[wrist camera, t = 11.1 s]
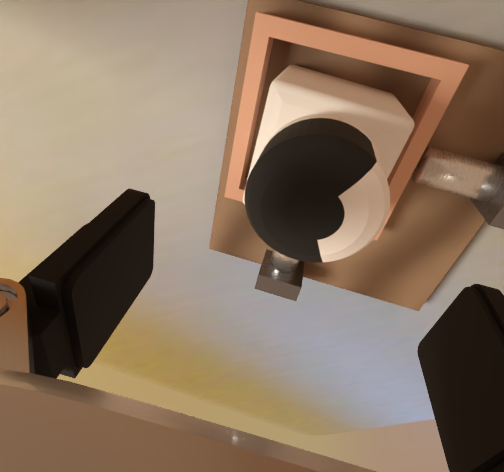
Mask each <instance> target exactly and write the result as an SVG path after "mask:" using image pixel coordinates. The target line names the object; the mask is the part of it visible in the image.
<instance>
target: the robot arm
mask: <svg viewBox="0 0 504 472" xmlns="http://www.w3.org/2000/svg"><path fill="white" fill-rule="evenodd" d="M154 219H155V202H154V200H151V199H150V196H149V194H148V193H144V192H140V191H137V190H133V189H128V190H126V191H125V192H124V193H123V194H121V195H120V196H119V197H118V198H117V199H116V200H115V201H113V202H112V203H111V204H110V205H109V206H108V207H107V208H105V209H104V210H103V211H102V212H101V213H100V214H99V215H98V216H96V217H95V218H94V219H93V220H92V221H91V222H90V223H88V224H86V225H84V226H83V227H82V228H81V229H79V230H78V231H77V232H76V233H75V234H74V235H73V236H71V237H70V238H69V239H68V240H67V241H66V242H65V243H63V244H62V245H61V246H60V247H59V248H58V249H56V250H55V251H54V252H53V253H52V254H51V255H50V256H48V257H47V258H46V259H45V260H44V261H43V262H41V263H40V264H39V265H38V266H37V267H36V268H35V269H33V270H32V271H31V272H30V273H29V274H28V275H27V276H25V277H24V278H23V279H22V280H21V281H20V282H16V281H13V280H10V279H4V278H0V472H376V471H373V470H369V469H366V468H363V467H359V466H356V465H352V464H349V463H346V462H343V461H339V460H336V459H333V458H329V457H326V456H323V455H319V454H316V453H312V452H309V451H306V450H303V449H299V448H296V447H292V446H289V445H286V444H283V443H279V442H276V441H273V440H269V439H266V438H262V437H259V436H256V435H253V434H249V433H246V432H242V431H239V430H236V429H232V428H229V427H226V426H222V425H219V424H216V423H212V422H209V421H205V420H202V419H198V418H195V417H192V416H188V415H185V414H182V413H178V412H175V411H171V410H168V409H164V408H161V407H158V406H154V405H151V404H148V403H144V402H141V401H137V400H134V399H130V398H126V397H123V396H119V395H116V394H112V393H108V392H105V391H101V390H97V389H94V388H90V387H87V386H83V385H79V384H76V383H72V382H68V381H63V380H59V379H56V378H57V377H58V376H59V374H62V375H65V376H69V377H72V378H76V376H77V375H78V373H79V372H80V370H81V369H82V367H84V368H88V367H89V366H90V365H91V364H92V363H93V361H94V360H95V358H96V357H97V355H98V354H99V352H100V351H101V349H102V348H103V346H104V345H105V343H106V342H107V340H108V339H109V337H110V336H111V334H112V333H113V331H114V330H115V329H116V327H117V326H118V324H119V323H120V321H121V320H122V318H123V317H124V315H125V314H126V312H127V311H128V309H129V308H130V306H131V305H132V303H133V302H134V300H135V299H136V297H137V296H138V294H139V293H140V291H141V290H142V288H143V287H144V285H145V284H146V282H147V281H148V279H149V278H150V276H151V274H152V270H153V254H154ZM418 357H419V360H420V364H421V368H422V372H423V375H424V379H425V383H426V386H427V390H428V394H429V398H430V401H431V405H432V409H433V412H434V416H435V420H436V423H437V427H438V431H439V435H440V438H441V442H442V446H443V449H444V453H445V457H446V461H447V464H448V468H449V471H450V472H504V295H503V294H502V293H501V291H500V290H498V289H495V288H491V287H487V286H484V285H480V284H474V285H472V286H471V287H466V288H464V289H463V290H462V291H461V293H460V294H459V295H458V296H457V297H456V299H455V300H454V301H453V302H452V304H451V305H450V306H449V307H448V309H447V310H446V311H445V312H444V314H443V315H442V316H441V317H440V318H439V320H438V321H437V322H436V323H435V325H434V326H433V327H432V328H431V330H430V331H429V332H428V333H427V334H426V336H425V337H424V338H423V339H422V341H421V342H420V344H419V346H418Z"/></svg>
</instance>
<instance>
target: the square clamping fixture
mask: <svg viewBox="0 0 504 472" xmlns="http://www.w3.org/2000/svg"><path fill="white" fill-rule="evenodd" d="M289 65H297V66H300V67H304V68H307V69H310V70H314V71H317V72H321V73H324V74H327V75H331V76H334V77H338V78H341V79H345V80H348V81H351V82H355V83H358V84H362V85H365V86H368V87H372V88H375V89H379V90H382V91H386V92H389V93H392V94H393V95H394V96H395V97H396V98H397V100H398V101H399V102H400V104H401V105H402V106H403V107H404V109H405V110H406V111H407V113H408V114H409V115H410V117H411V118H412V119H413V121H414V123H415V124H414V128H413V130H412V132H411V134H410V136H409V138H408V140H407V142H406V144H405V146H404V148H403V150H402V152H401V154H400V155H399V157H398V159H397V161H396V163H395V165H394V167H393V169H392V171H391V173H390V175H389V177H388V179H387V181H388V185H389V190H390V208H389V212H388V216H387V219H386V221H385V223H384V226H383V227H382V229H381V230H380V232H379V234H378V235H377V236H376V237H375V238H374V240H373V241H371V242H370V243H369V244H368V245H367V246H366V247H364V248H363V249H362V250H360V251H359V252H357V253H355V254H353V255H351V256H349V257H346V258H343V259H340V260H336V261H331V262H321V263H313V262H304V261H299V260H295V259H292V258H289V257H287V256H284V255H282V254H280V253H278V252H277V251H275V250H273V249H272V248H271V247H269V246H268V245H267V244H266V243H265V242H264V241H263V240H262V239H261V238H260V237H259V236H258V235H257V233H256V232H255V231H254V229H253V227H252V226H251V224H250V221H249V219H248V216H247V213H246V209H245V205H244V203H243V195H244V191H245V187H246V182H247V178H248V174H249V170H250V166H251V162H252V158H253V154H254V150H255V145H256V141H257V137H258V133H259V129H260V125H261V121H262V117H263V113H264V108H265V104H266V100H267V96H268V92H269V88H270V85H271V83H272V81H273V80H274V79H275V78H276V77H277V76H279V75H280V74H281V73H282V72H283V71H284V70H285V69H286V68H287V67H288V66H289ZM485 220H486V222H487V223H488V224H489V225H491V226H494V227H498V228H501V229H504V51H503V50H498V49H494V48H490V47H486V46H482V45H478V44H474V43H470V42H466V41H462V40H458V39H453V38H449V37H445V36H441V35H437V34H433V33H429V32H425V31H421V30H417V29H412V28H408V27H404V26H400V25H396V24H392V23H388V22H384V21H380V20H376V19H372V18H367V17H363V16H359V15H355V14H351V13H347V12H343V11H339V10H335V9H331V8H326V7H322V6H318V5H314V4H310V3H306V2H302V1H298V0H248V4H247V10H246V17H245V23H244V30H243V36H242V42H241V49H240V55H239V62H238V68H237V74H236V81H235V87H234V93H233V100H232V106H231V113H230V119H229V125H228V132H227V138H226V144H225V151H224V157H223V164H222V170H221V176H220V183H219V189H218V195H217V202H216V208H215V215H214V221H213V227H212V234H211V240H210V247H209V249H212V250H216V251H219V252H222V253H226V254H229V255H232V256H236V257H239V258H242V259H246V260H249V261H252V262H256V263H259V264H262V265H261V268H260V272H259V275H258V278H257V282H256V285H255V289H258V290H261V291H264V292H268V293H271V294H274V295H277V296H281V297H284V298H287V299H291V300H294V301H296V300H297V297H298V295H299V292H300V290H301V286H302V279H303V277H306V278H309V279H313V280H316V281H319V282H323V283H326V284H330V285H333V286H336V287H340V288H343V289H346V290H350V291H353V292H356V293H360V294H363V295H366V296H370V297H373V298H377V299H380V300H383V301H387V302H390V303H393V304H397V305H400V306H403V307H407V308H410V309H413V310H417V311H419V310H420V309H421V307H422V306H423V304H424V303H425V302H426V300H427V299H428V298H429V296H430V295H431V294H432V292H433V291H434V289H435V288H436V287H437V285H438V284H439V283H440V281H441V280H442V278H443V277H444V276H445V274H446V273H447V272H448V270H449V269H450V268H451V266H452V265H453V263H454V262H455V261H456V259H457V258H458V257H459V255H460V254H461V253H462V251H463V250H464V248H465V247H466V246H467V244H468V243H469V242H470V240H471V239H472V238H473V236H474V235H475V233H476V232H477V231H478V229H479V228H480V227H481V225H482V224H483V222H484V221H485Z"/></svg>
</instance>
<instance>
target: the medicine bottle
mask: <svg viewBox="0 0 504 472" xmlns="http://www.w3.org/2000/svg"><path fill="white" fill-rule="evenodd" d="M414 124H415V123H414V121H413V119H412V118H411V117H410V115H409V114H408V113H407V111H406V110H405V109H404V107H403V106H402V105H401V104H400V102H399V101H398V100H397V98H396V97H395V96H394V95H393V94H392V93H389V92H386V91H382V90H379V89H375V88H372V87H368V86H365V85H362V84H358V83H355V82H351V81H348V80H345V79H341V78H338V77H334V76H331V75H327V74H324V73H321V72H317V71H314V70H310V69H307V68H304V67H300V66H297V65H289V66H288V67H287V68H286V69H285V70H284V71H283V72H282V73H281V74H280V75H279V76H277V77H276V78H275V79H274V80H273V81H272V83H271V85H270V88H269V92H268V96H267V100H266V104H265V108H264V113H263V117H262V121H261V125H260V129H259V133H258V137H257V141H256V145H255V150H254V154H253V158H252V162H251V166H250V170H249V174H248V178H247V182H246V187H245V191H244V195H243V203H244V205H245V209H246V213H247V216H248V219H249V221H250V224H251V226H252V227H253V229H254V231H255V232H256V233H257V235H258V236H259V237H260V238H261V239H262V240H263V241H264V242H265V243H266V244H267V245H268V246H269V247H271V248H272V249H273V250H275V251H277V252H278V253H280V254H282V255H284V256H287V257H289V258H292V259H295V260H299V261H304V262H313V263H321V262H331V261H336V260H340V259H343V258H346V257H349V256H351V255H353V254H355V253H357V252H359V251H360V250H362V249H363V248H364V247H366V246H367V245H368V244H369V243H370V242H371V241H373V240H374V238H375V237H376V236H377V235H378V234H379V232H380V230H381V229H382V227H383V226H384V223H385V221H386V219H387V216H388V212H389V208H390V190H389V185H388V181H387V179H388V177H389V175H390V173H391V171H392V169H393V167H394V165H395V163H396V161H397V159H398V157H399V155H400V154H401V152H402V150H403V148H404V146H405V144H406V142H407V140H408V138H409V136H410V134H411V132H412V130H413V128H414Z"/></svg>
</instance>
